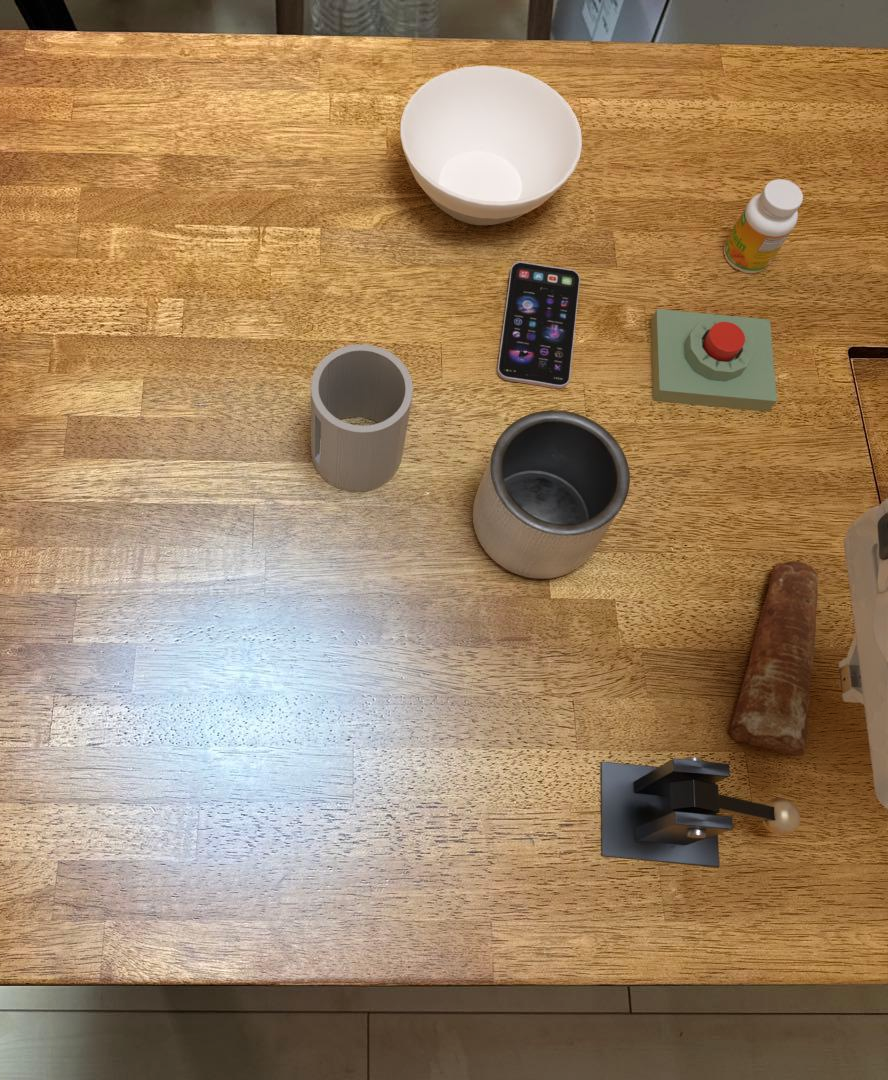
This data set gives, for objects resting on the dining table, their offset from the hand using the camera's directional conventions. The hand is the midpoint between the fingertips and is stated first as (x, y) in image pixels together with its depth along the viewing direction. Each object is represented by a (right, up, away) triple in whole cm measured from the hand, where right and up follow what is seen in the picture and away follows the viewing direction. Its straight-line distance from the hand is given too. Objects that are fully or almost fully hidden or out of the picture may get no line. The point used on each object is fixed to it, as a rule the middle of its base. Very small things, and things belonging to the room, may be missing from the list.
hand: (850, 683), depth 75 cm
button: (+1, +30, +29) cm, 42 cm away
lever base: (-10, -13, +14) cm, 22 cm away
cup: (-36, +19, +27) cm, 49 cm away
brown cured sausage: (+2, -1, +20) cm, 20 cm away
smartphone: (-17, +33, +34) cm, 50 cm away
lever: (-6, -11, +8) cm, 15 cm away
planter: (-19, +12, +25) cm, 33 cm away
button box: (+1, +29, +32) cm, 43 cm away
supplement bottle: (+7, +42, +38) cm, 57 cm away
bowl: (-22, +50, +41) cm, 69 cm away
